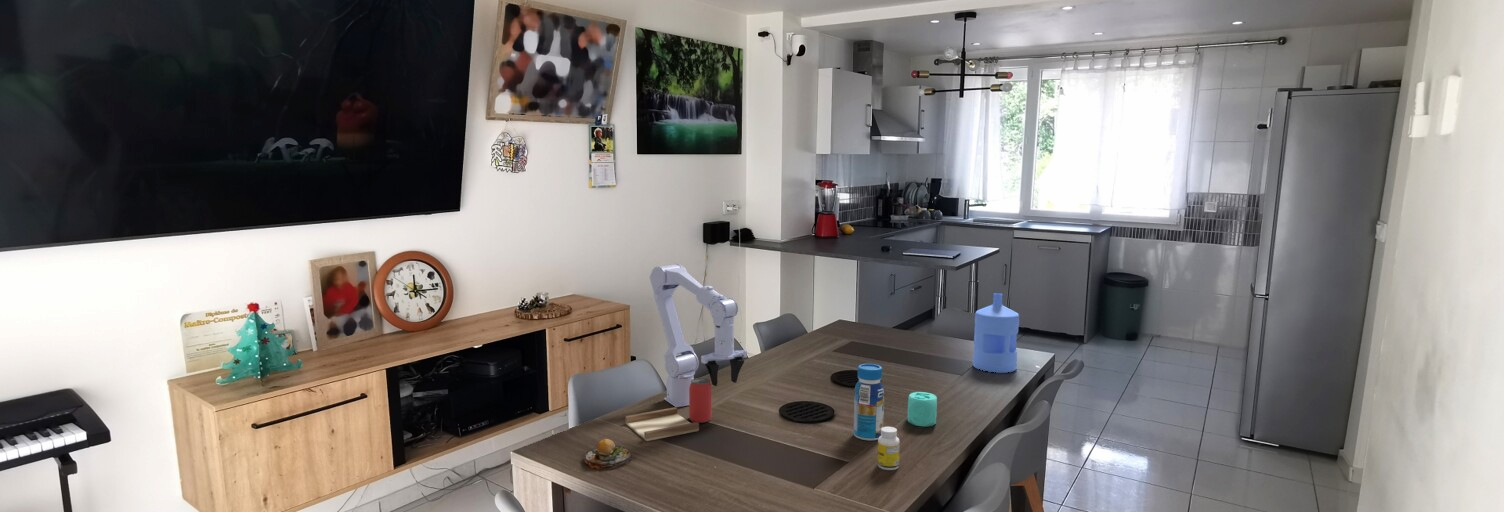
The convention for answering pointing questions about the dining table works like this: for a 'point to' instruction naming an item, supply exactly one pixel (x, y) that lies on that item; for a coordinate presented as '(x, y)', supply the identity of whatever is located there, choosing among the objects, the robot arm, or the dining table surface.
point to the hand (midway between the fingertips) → (724, 383)
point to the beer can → (700, 400)
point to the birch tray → (660, 424)
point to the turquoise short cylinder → (922, 409)
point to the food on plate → (607, 455)
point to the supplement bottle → (888, 449)
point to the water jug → (996, 338)
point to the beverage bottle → (868, 403)
